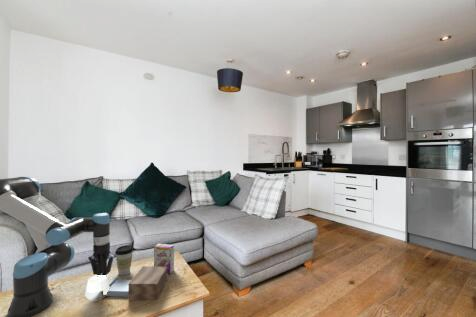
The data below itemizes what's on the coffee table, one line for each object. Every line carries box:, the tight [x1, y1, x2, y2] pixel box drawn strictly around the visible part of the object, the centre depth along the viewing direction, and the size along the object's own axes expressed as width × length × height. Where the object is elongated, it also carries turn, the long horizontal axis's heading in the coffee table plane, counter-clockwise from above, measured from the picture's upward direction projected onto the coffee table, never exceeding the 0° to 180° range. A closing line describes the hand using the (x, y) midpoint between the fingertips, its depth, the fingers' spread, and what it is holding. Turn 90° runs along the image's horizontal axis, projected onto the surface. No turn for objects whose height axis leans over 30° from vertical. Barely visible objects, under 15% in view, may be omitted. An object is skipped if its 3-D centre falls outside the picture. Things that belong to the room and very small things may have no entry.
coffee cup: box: [114, 244, 134, 276], centre depth 130 cm, size 10×10×15 cm
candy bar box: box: [153, 243, 175, 275], centre depth 132 cm, size 11×5×16 cm, turn 80°
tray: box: [105, 276, 132, 297], centre depth 114 cm, size 14×10×4 cm
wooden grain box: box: [128, 265, 168, 301], centre depth 114 cm, size 14×16×8 cm
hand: (102, 286), depth 113 cm, fingers closed
